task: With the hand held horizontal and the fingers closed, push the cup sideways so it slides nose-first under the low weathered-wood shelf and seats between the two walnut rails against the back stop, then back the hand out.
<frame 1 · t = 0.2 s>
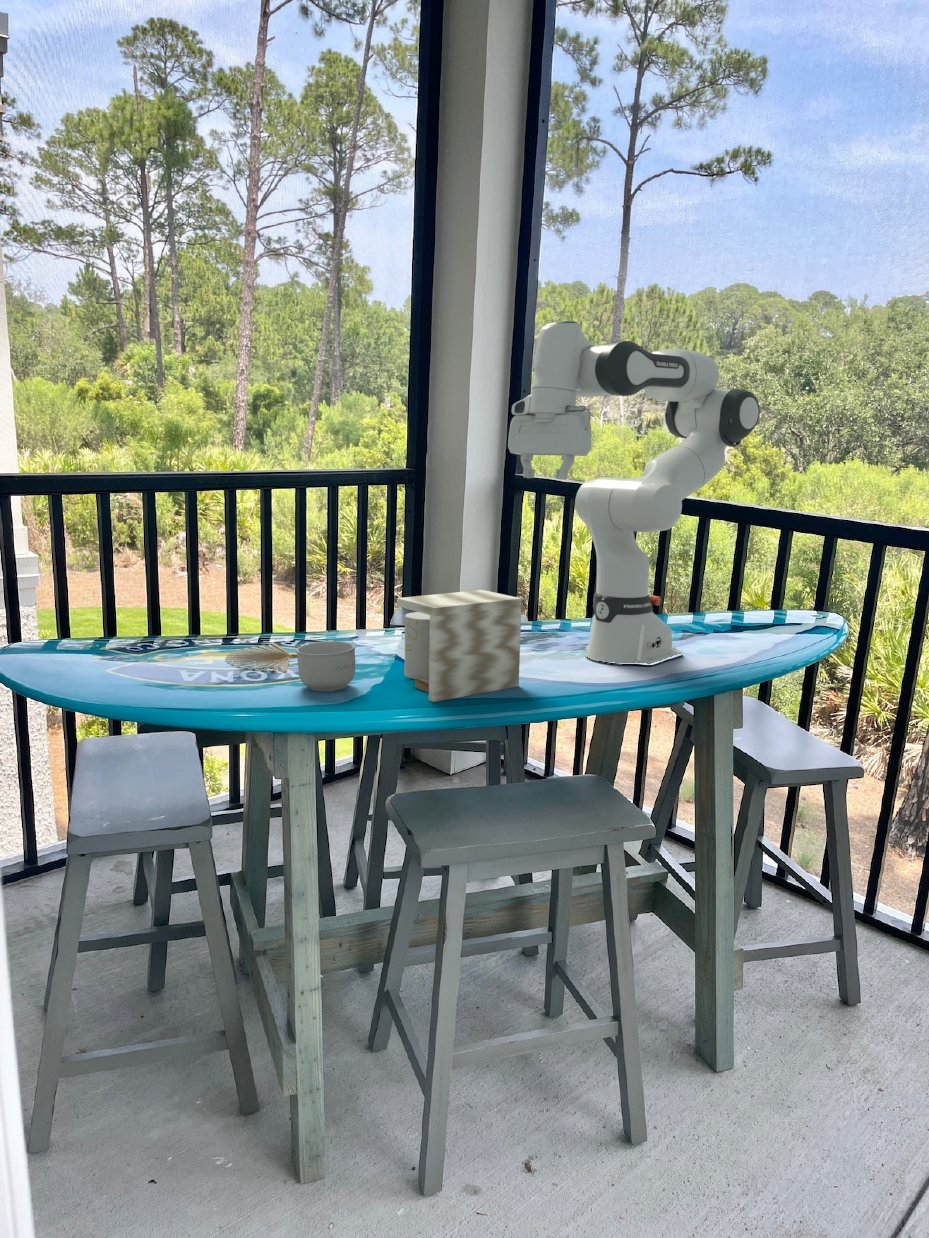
hand: (544, 478, 175), 39 cm above the table, tool pointing down, fingers open, 8 cm apart
cup: (424, 675, 178), on the table
shelf: (458, 686, 170), on the table
hand fan: (262, 660, 189), on the table
teacup: (328, 686, 169), on the table
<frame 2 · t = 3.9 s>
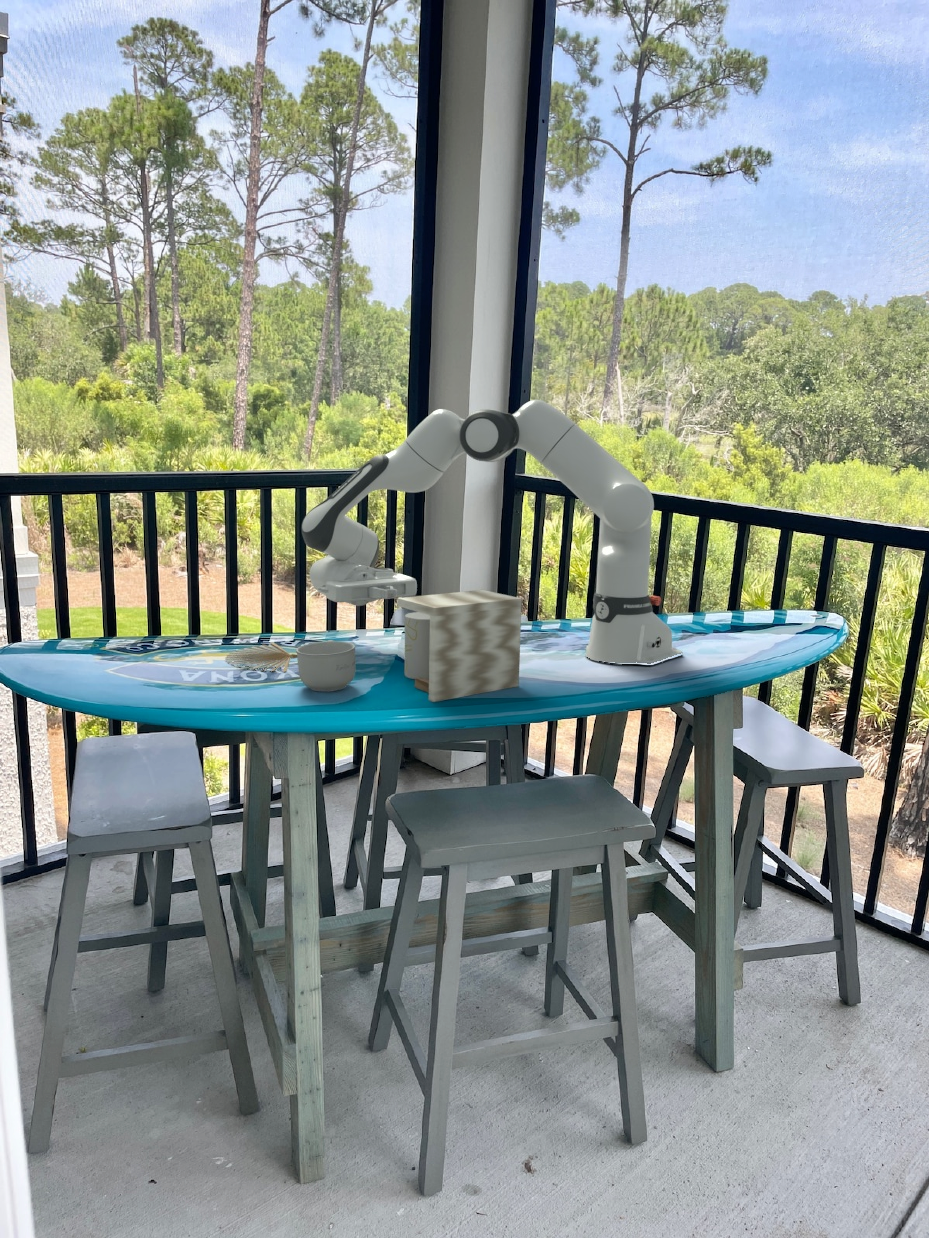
hand: (391, 594, 185), 14 cm above the table, tool horizontal, fingers closed
nothing on the table moved.
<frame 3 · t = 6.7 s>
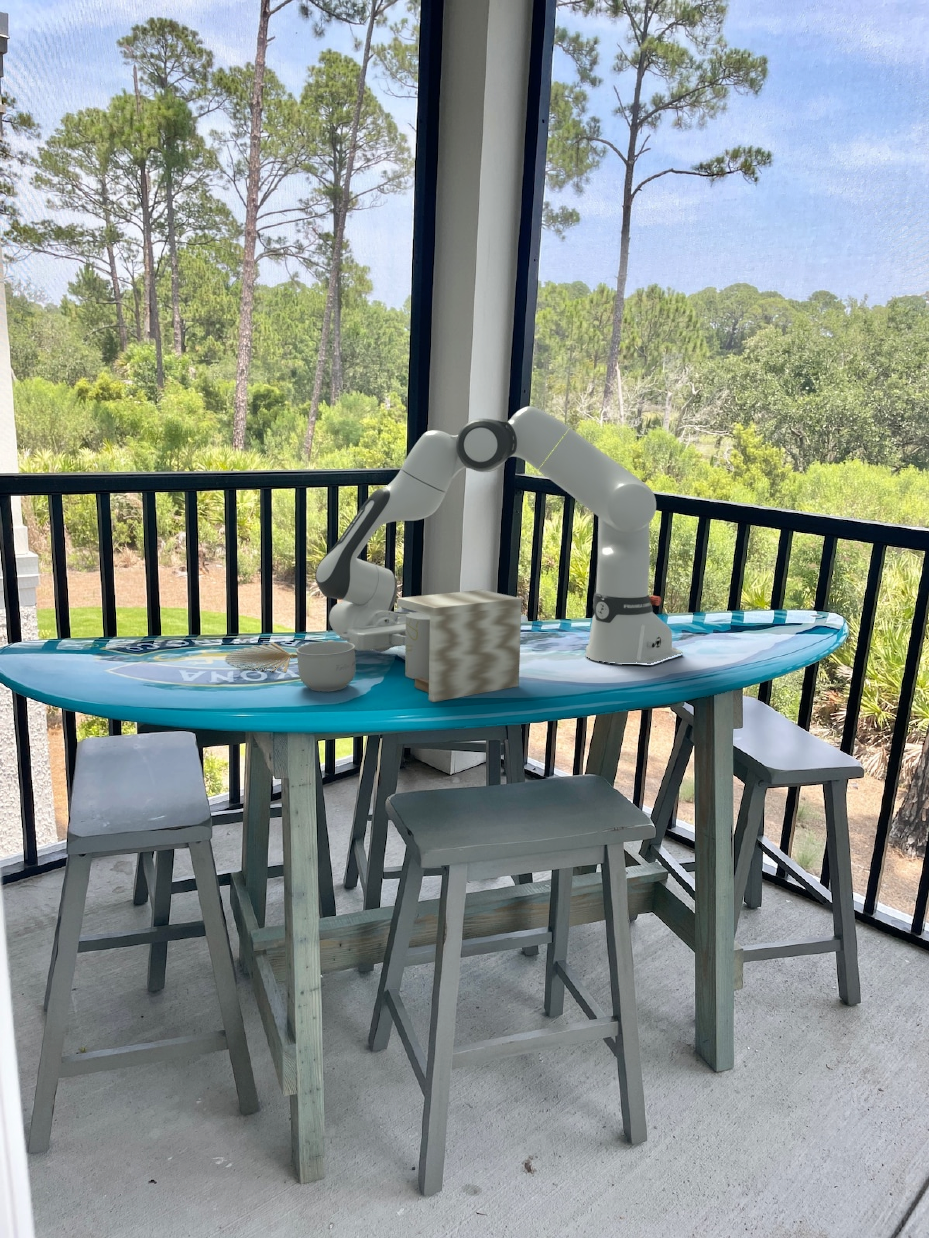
hand: (414, 641, 180), 6 cm above the table, tool horizontal, fingers closed, pressing on cup
cup: (425, 675, 178), on the table, touching gripper
everything else where it was.
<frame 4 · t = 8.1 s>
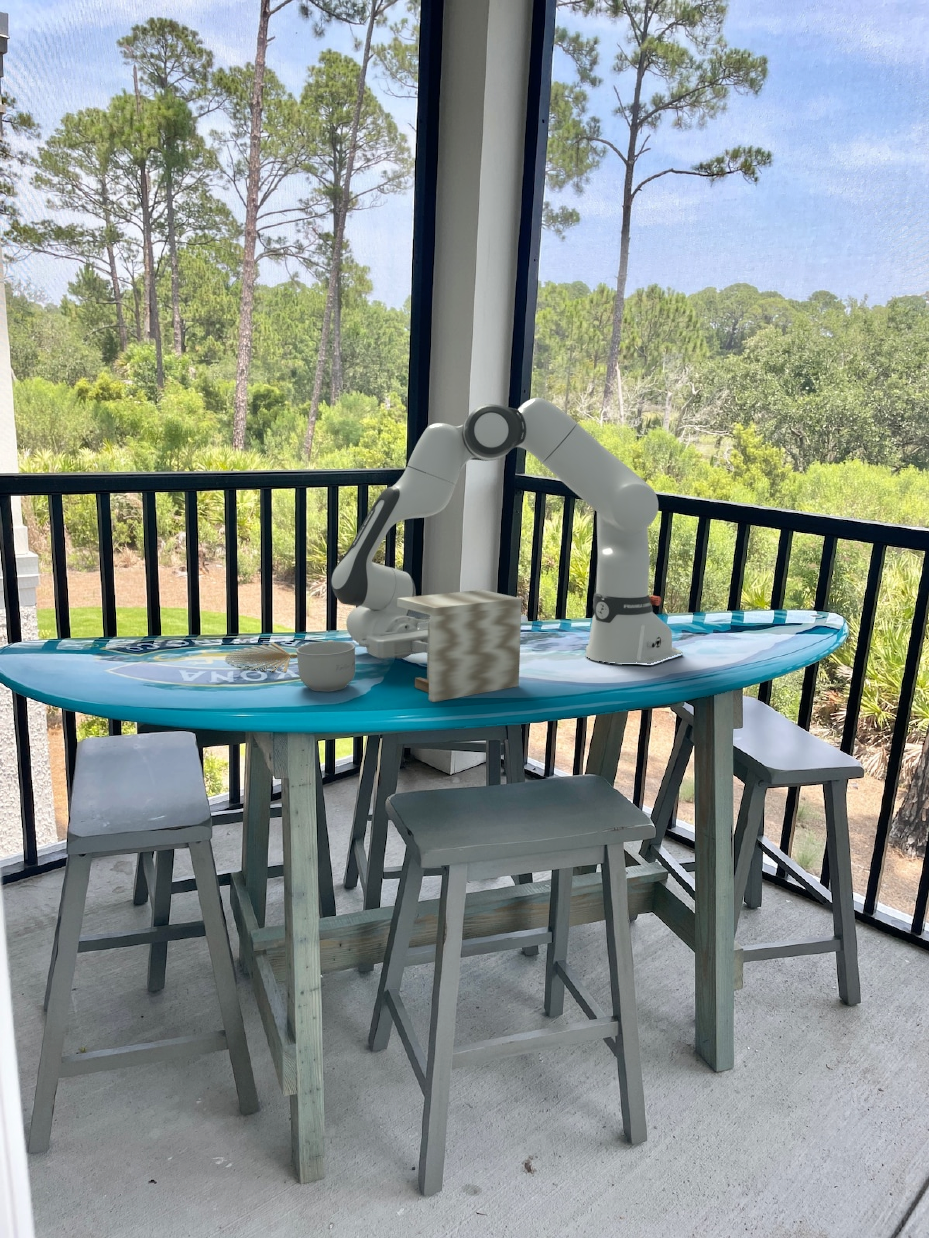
hand: (436, 648, 174), 6 cm above the table, tool horizontal, fingers closed, pressing on cup
cup: (448, 684, 172), on the table, touching gripper
everything else where it was.
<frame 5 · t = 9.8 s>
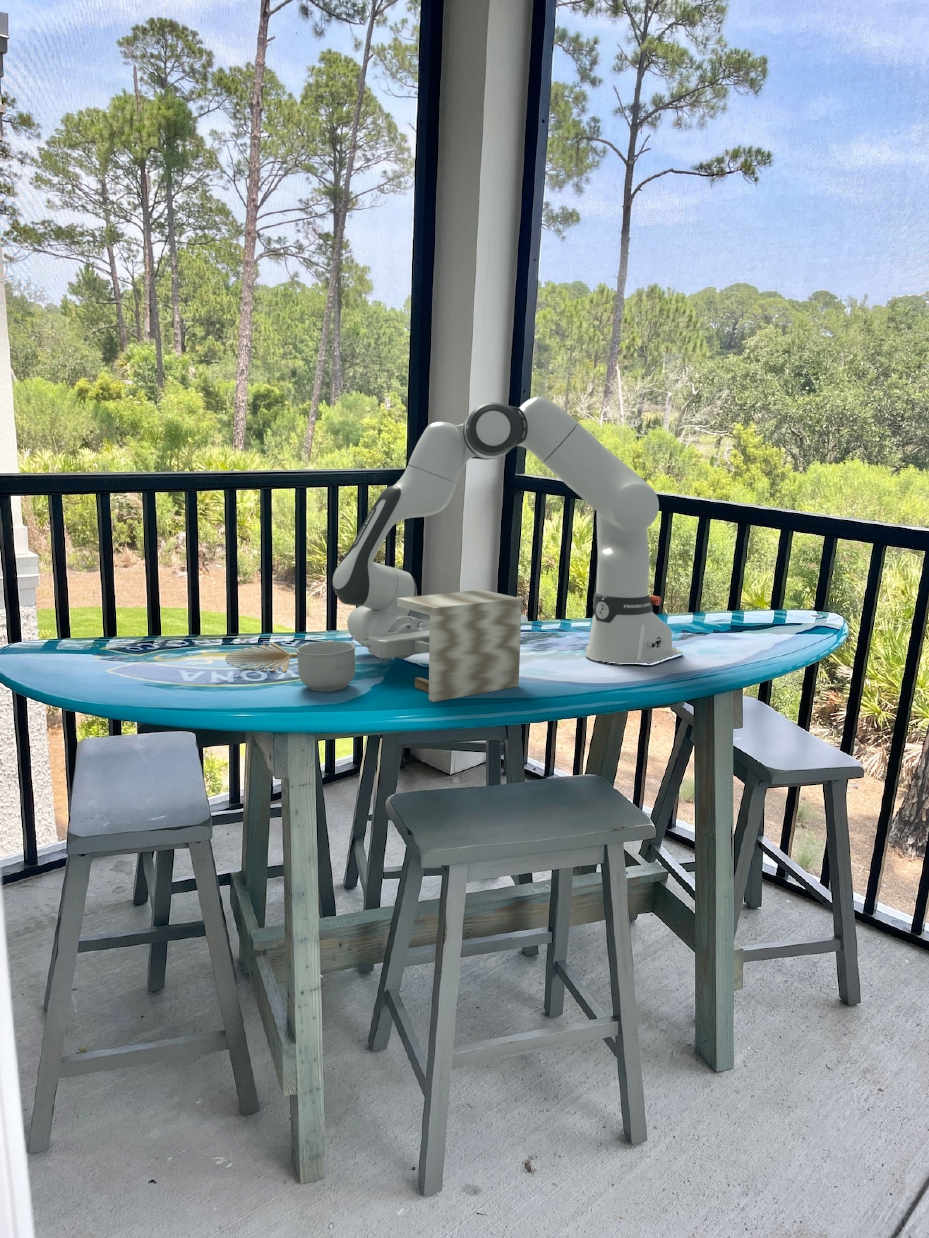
hand: (439, 649, 173), 6 cm above the table, tool horizontal, fingers closed
cup: (456, 687, 170), on the table
everything else where it was.
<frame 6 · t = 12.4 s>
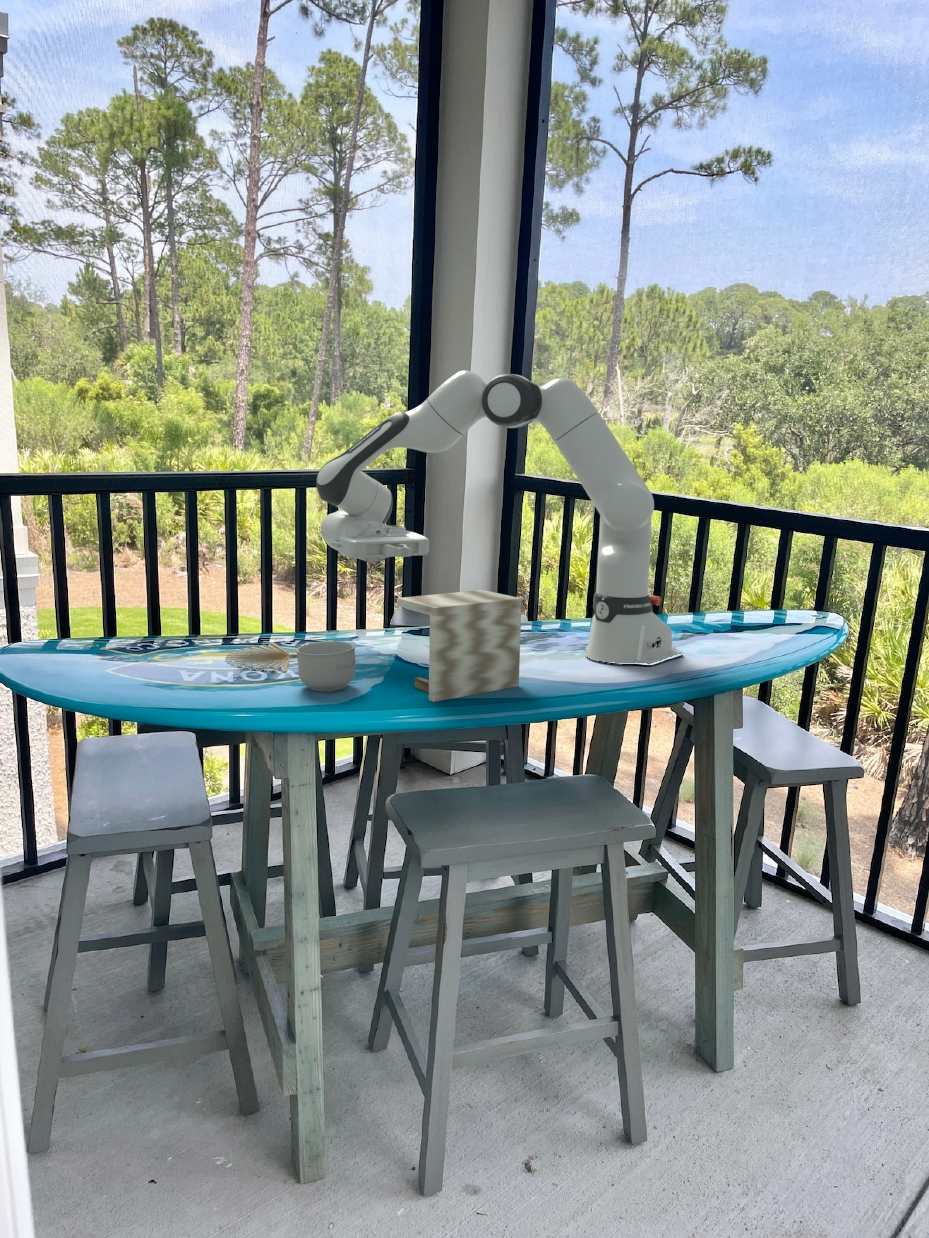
hand: (405, 553, 185), 23 cm above the table, tool horizontal, fingers closed
nothing on the table moved.
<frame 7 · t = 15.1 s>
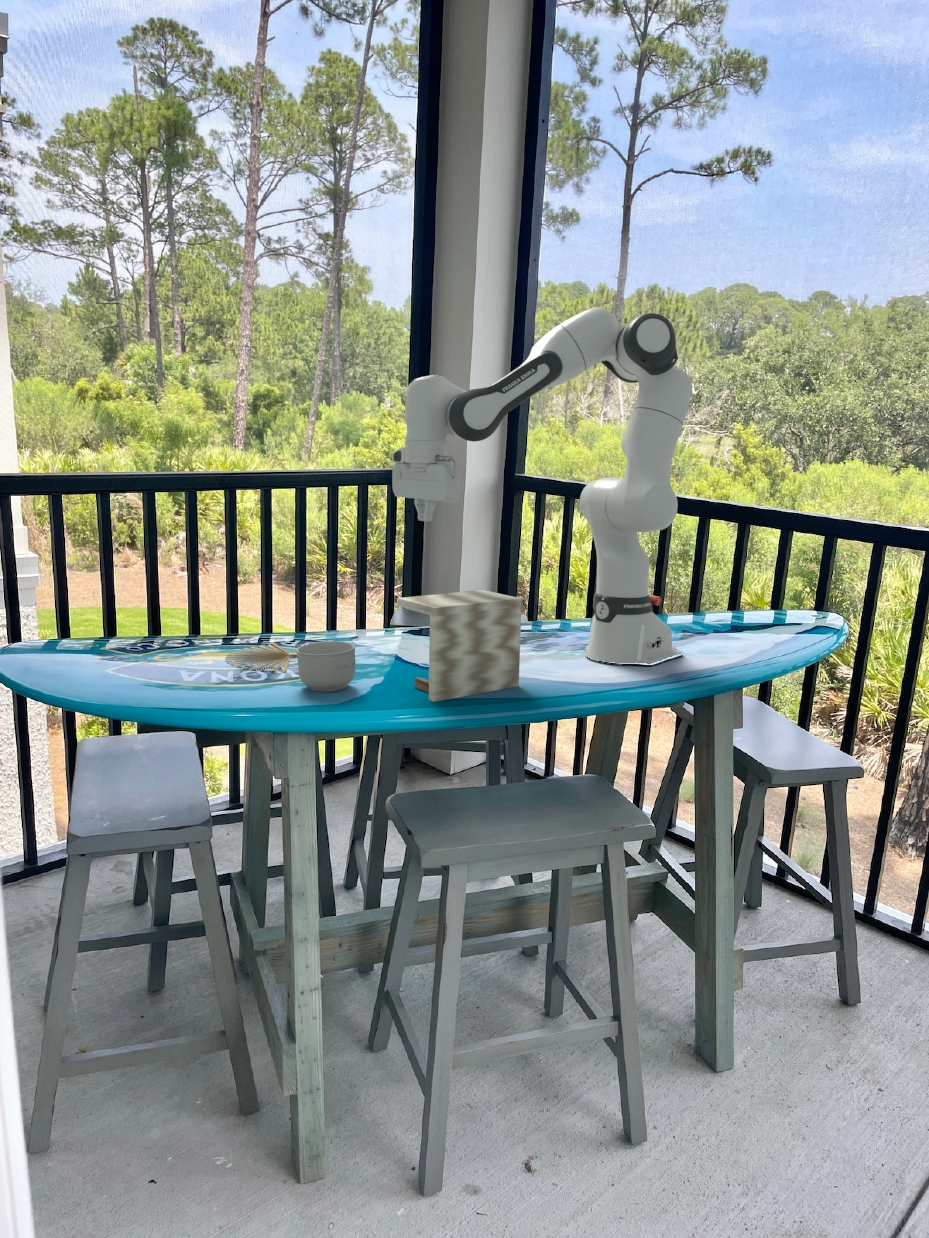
hand: (425, 520, 190), 29 cm above the table, tool pointing down, fingers closed
nothing on the table moved.
at the end: cup 0.3 cm off-centre on the shelf, point 0.0 cm above the shelf's base; cup tilted 0° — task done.
